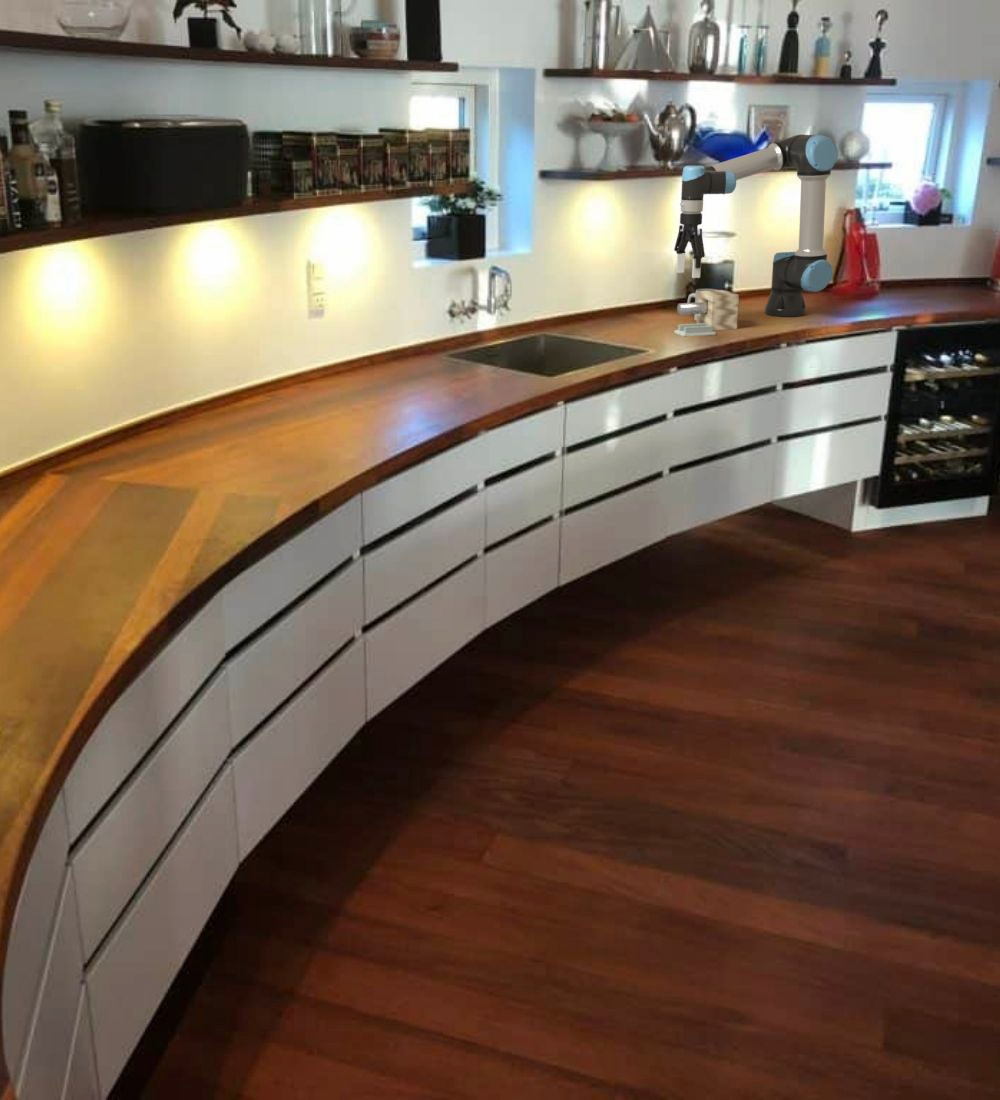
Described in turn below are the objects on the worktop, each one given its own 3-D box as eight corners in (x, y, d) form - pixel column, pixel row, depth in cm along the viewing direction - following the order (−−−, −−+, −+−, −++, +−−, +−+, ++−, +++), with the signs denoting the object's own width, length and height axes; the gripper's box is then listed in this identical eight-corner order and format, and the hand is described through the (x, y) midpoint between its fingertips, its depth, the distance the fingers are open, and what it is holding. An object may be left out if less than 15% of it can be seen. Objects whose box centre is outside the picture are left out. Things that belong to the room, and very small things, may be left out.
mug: (721, 319, 449) (723, 289, 446) (710, 323, 443) (712, 292, 439) (692, 316, 456) (693, 287, 452) (681, 319, 450) (683, 289, 446)
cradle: (705, 330, 428) (706, 322, 427) (715, 334, 421) (716, 326, 420) (674, 332, 425) (674, 324, 424) (683, 336, 418) (684, 328, 417)
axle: (733, 310, 438) (733, 299, 436) (738, 312, 434) (738, 301, 433) (676, 314, 432) (677, 302, 431) (681, 315, 428) (681, 304, 427)
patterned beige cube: (721, 323, 442) (723, 289, 438) (736, 328, 432) (738, 294, 427) (696, 324, 440) (698, 291, 436) (710, 330, 429) (712, 296, 425)
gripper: (666, 209, 429) (664, 270, 436) (696, 215, 406) (692, 280, 414) (686, 209, 431) (683, 270, 438) (717, 215, 408) (713, 279, 416)
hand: (687, 275), depth 426 cm, fingers open, 13 cm apart
